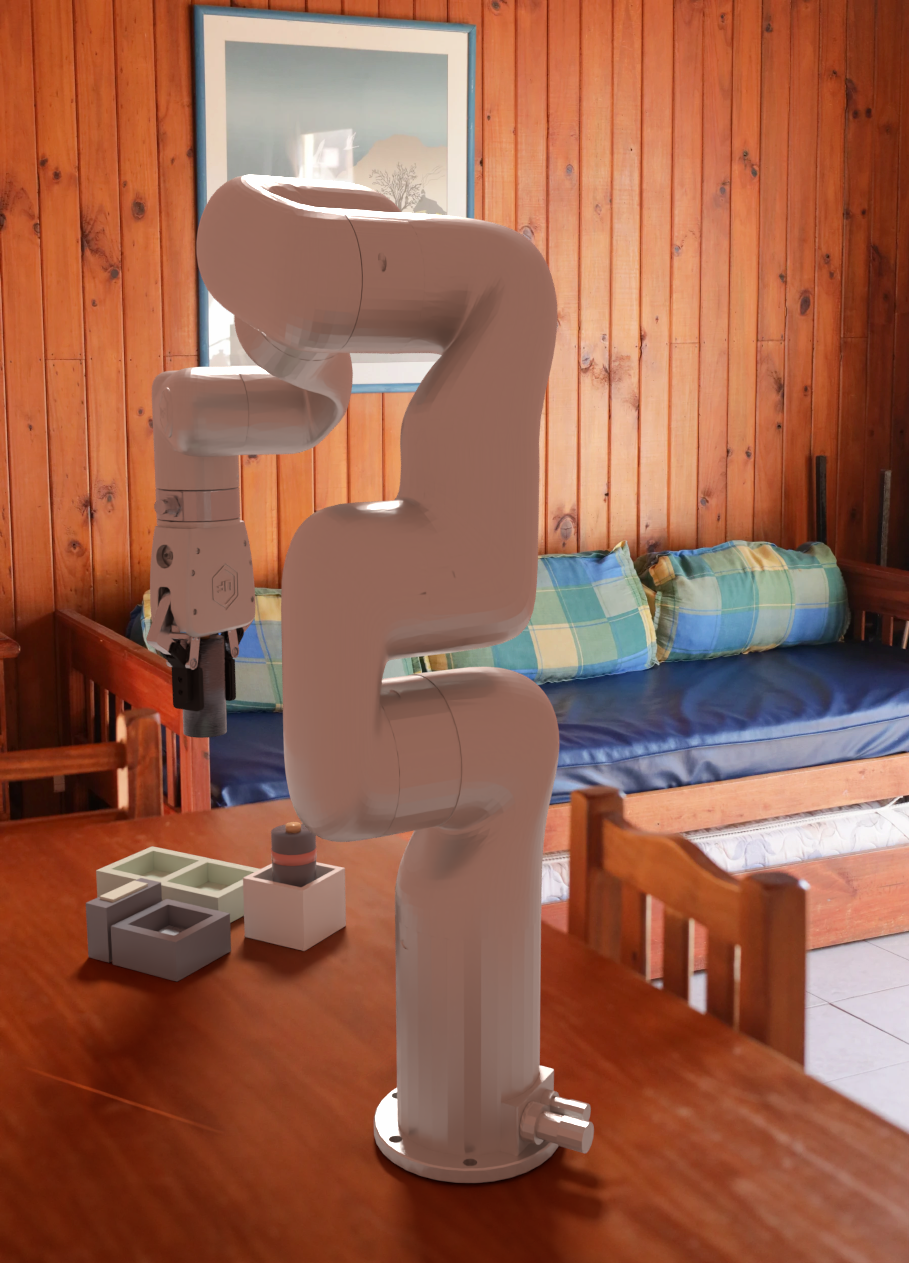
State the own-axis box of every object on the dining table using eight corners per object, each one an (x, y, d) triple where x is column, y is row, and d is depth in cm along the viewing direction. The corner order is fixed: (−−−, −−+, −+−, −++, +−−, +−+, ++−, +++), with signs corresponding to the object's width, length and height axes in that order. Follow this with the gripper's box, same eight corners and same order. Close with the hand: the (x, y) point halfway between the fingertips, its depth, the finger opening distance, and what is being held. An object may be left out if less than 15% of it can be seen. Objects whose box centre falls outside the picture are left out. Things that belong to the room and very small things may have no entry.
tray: (271, 900, 131) (270, 871, 131) (219, 929, 124) (217, 898, 124) (153, 874, 138) (152, 846, 138) (97, 899, 132) (96, 870, 131)
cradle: (231, 951, 119) (229, 894, 119) (177, 981, 113) (174, 922, 112) (144, 929, 124) (141, 875, 123) (87, 957, 118) (84, 900, 117)
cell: (235, 730, 128) (232, 630, 126) (208, 739, 124) (205, 637, 122) (202, 724, 130) (199, 626, 128) (174, 734, 126) (170, 633, 124)
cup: (345, 925, 125) (344, 819, 123) (304, 951, 119) (301, 840, 118) (287, 912, 128) (285, 809, 126) (244, 936, 123) (241, 829, 121)
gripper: (168, 517, 114) (176, 728, 117) (286, 502, 128) (290, 691, 132) (102, 513, 118) (111, 718, 121) (223, 499, 132) (229, 682, 135)
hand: (204, 702), depth 126 cm, fingers closed on cell, 4 cm apart
